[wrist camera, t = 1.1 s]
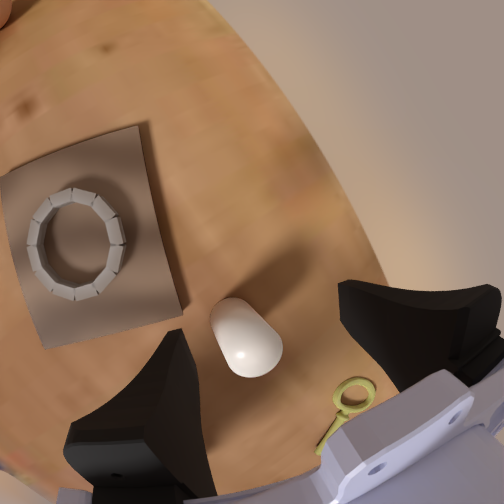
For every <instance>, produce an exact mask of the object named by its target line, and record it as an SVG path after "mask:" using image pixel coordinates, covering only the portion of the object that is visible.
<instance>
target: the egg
mask: <svg viewBox="0 0 504 504" xmlns="http://www.w3.org/2000/svg"><path fill="white" fill-rule="evenodd" d="M11 9H12V1H11V0H0V28H2V27H3V26H4V24H5V23H6V22H7V20H8V18H9V16H10V13H11Z"/></svg>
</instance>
